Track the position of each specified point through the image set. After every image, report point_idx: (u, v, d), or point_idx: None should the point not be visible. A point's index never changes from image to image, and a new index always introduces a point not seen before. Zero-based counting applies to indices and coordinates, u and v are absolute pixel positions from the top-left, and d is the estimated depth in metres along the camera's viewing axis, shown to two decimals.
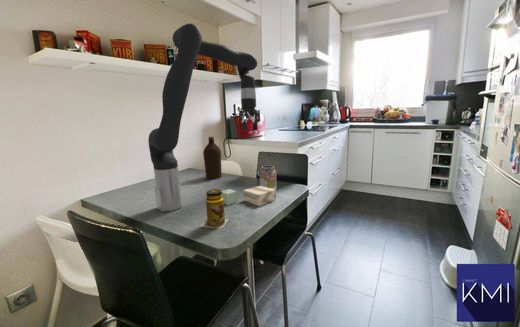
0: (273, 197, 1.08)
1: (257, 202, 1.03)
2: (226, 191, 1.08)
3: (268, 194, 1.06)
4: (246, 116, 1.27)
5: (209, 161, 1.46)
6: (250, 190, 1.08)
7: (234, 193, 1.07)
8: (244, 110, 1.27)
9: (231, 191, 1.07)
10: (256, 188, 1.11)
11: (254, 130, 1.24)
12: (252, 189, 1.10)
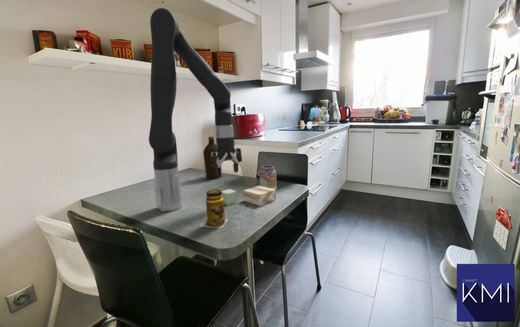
0: (273, 197, 1.08)
1: (258, 202, 1.03)
2: (226, 190, 1.08)
3: (268, 194, 1.06)
4: (226, 158, 1.03)
5: (209, 161, 1.46)
6: (250, 190, 1.08)
7: (234, 193, 1.07)
8: (222, 151, 1.02)
9: (231, 191, 1.07)
10: (256, 188, 1.11)
11: (237, 171, 1.09)
12: (252, 189, 1.10)
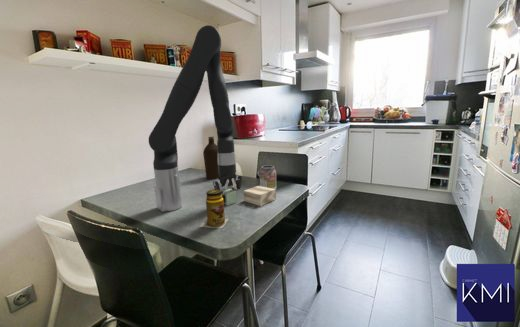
0: (273, 197, 1.09)
1: (259, 202, 1.03)
2: (226, 190, 1.08)
3: (269, 194, 1.06)
4: (228, 183, 1.06)
5: (209, 161, 1.46)
6: (250, 190, 1.08)
7: (234, 193, 1.07)
8: (224, 177, 1.04)
9: (231, 191, 1.07)
10: (256, 188, 1.11)
11: None
12: (252, 189, 1.10)
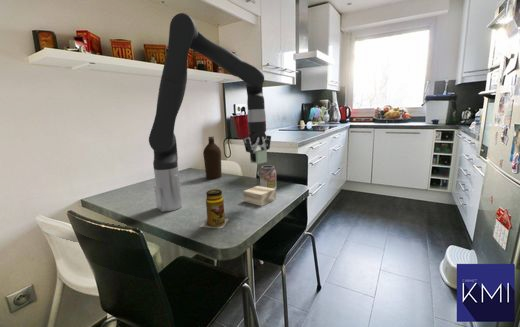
0: (273, 197, 1.09)
1: (259, 202, 1.03)
2: None
3: (269, 194, 1.06)
4: (258, 142, 1.04)
5: (209, 161, 1.46)
6: (251, 190, 1.08)
7: (264, 152, 1.05)
8: (254, 135, 1.02)
9: (261, 150, 1.05)
10: (256, 188, 1.11)
11: None
12: (252, 189, 1.10)
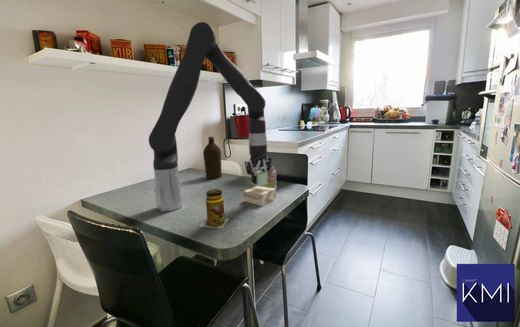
0: (273, 197, 1.09)
1: (260, 202, 1.03)
2: None
3: (269, 194, 1.07)
4: (259, 164, 1.06)
5: (209, 161, 1.46)
6: (251, 191, 1.08)
7: (265, 174, 1.07)
8: (255, 158, 1.04)
9: (262, 172, 1.07)
10: (256, 188, 1.11)
11: None
12: (252, 189, 1.10)
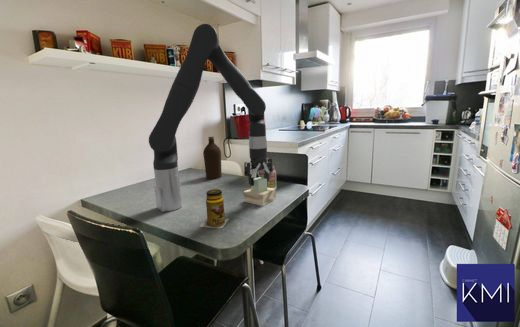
0: (273, 196, 1.09)
1: (261, 202, 1.03)
2: (256, 178, 1.09)
3: (270, 194, 1.07)
4: (258, 168, 1.06)
5: (209, 161, 1.46)
6: (251, 191, 1.08)
7: (265, 181, 1.07)
8: (256, 161, 1.04)
9: (261, 179, 1.08)
10: None
11: (268, 181, 1.11)
12: None
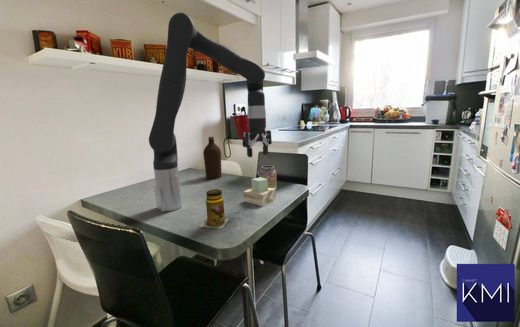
0: (273, 196, 1.09)
1: (261, 202, 1.03)
2: (256, 178, 1.09)
3: (269, 194, 1.07)
4: (257, 139, 1.03)
5: (209, 161, 1.46)
6: (251, 191, 1.08)
7: (265, 181, 1.07)
8: (254, 132, 1.02)
9: (262, 179, 1.07)
10: None
11: (266, 154, 1.08)
12: None
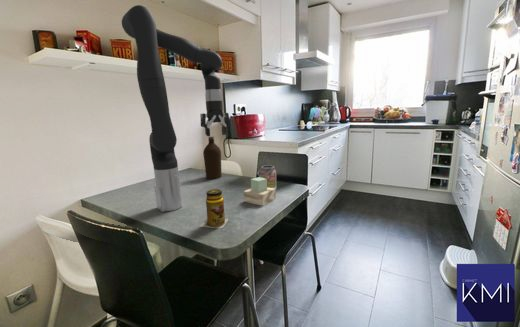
0: (273, 196, 1.10)
1: (261, 202, 1.03)
2: (256, 178, 1.09)
3: (270, 194, 1.07)
4: (214, 120, 1.15)
5: (209, 161, 1.46)
6: (251, 191, 1.08)
7: (264, 180, 1.07)
8: (211, 113, 1.13)
9: (261, 179, 1.08)
10: None
11: (225, 134, 1.20)
12: None
